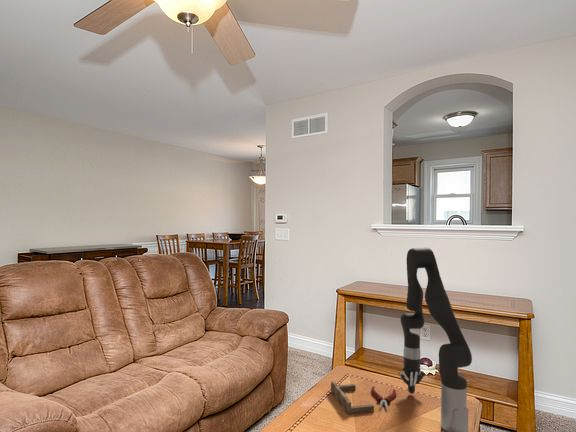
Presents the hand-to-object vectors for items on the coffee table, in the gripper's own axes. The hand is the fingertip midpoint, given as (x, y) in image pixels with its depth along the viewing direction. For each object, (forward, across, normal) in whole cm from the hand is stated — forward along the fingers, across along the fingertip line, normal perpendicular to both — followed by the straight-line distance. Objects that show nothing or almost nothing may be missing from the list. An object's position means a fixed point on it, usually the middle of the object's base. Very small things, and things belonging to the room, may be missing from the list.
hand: (411, 392), depth 168 cm
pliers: (+2, -16, -1) cm, 17 cm away
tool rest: (+1, -30, 0) cm, 30 cm away
